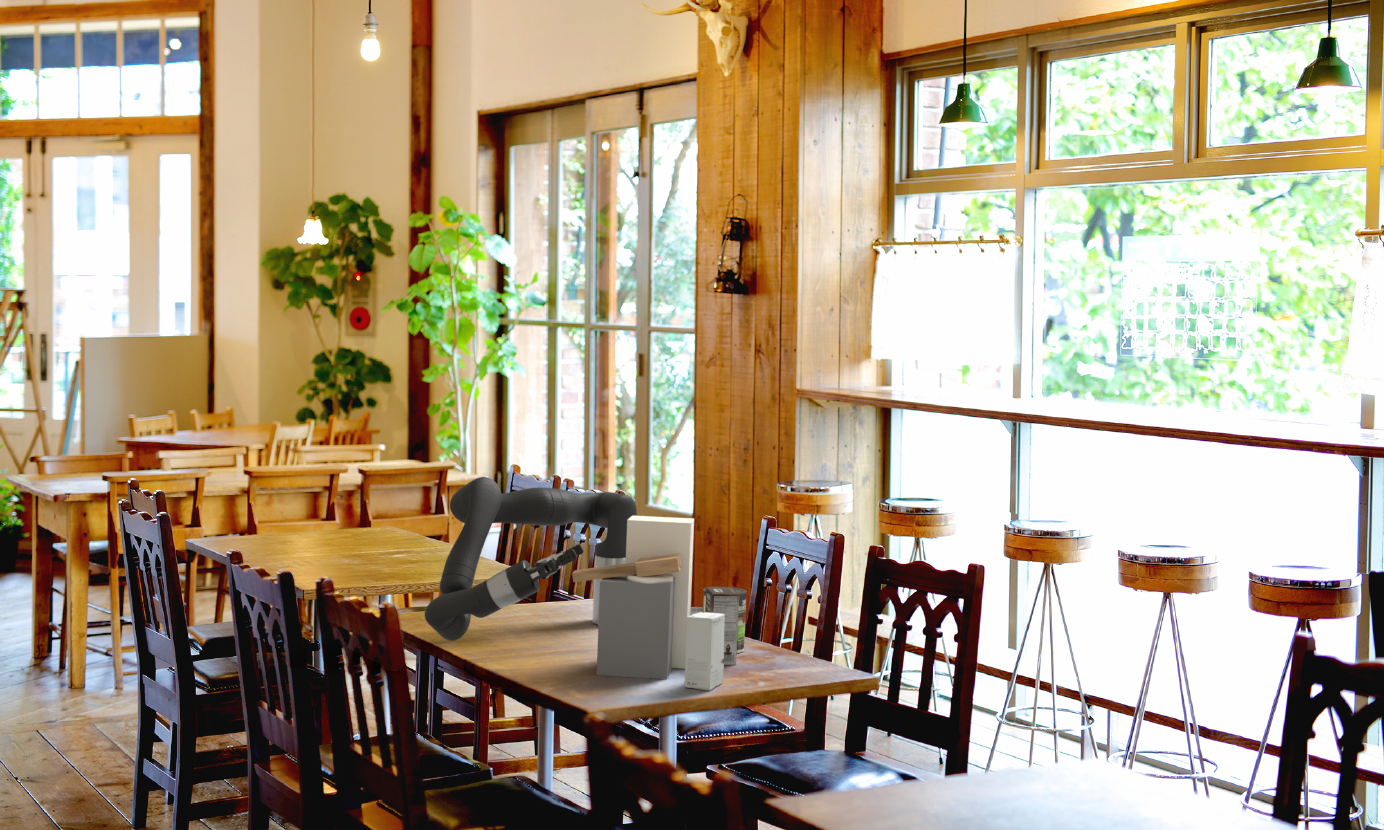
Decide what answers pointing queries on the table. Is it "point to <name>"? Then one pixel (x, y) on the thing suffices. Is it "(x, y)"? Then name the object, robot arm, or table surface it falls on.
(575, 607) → the table surface
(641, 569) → the oak block
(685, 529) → the tall plinth
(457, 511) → the robot arm
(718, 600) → the coffee box
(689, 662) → the skincare box
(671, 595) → the gray box
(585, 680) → the table surface
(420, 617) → the table surface
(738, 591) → the coffee can
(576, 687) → the table surface
